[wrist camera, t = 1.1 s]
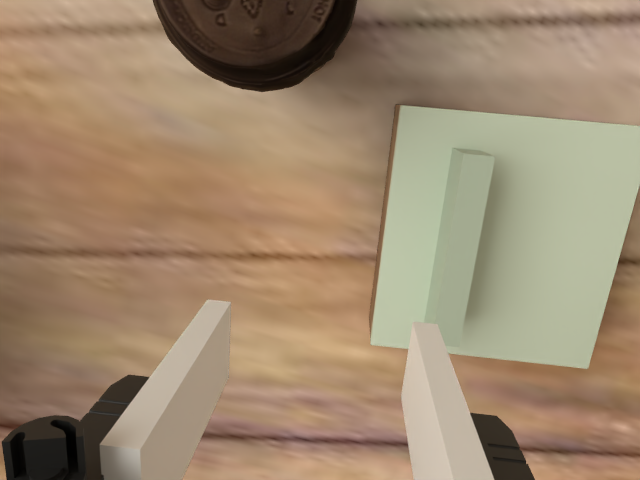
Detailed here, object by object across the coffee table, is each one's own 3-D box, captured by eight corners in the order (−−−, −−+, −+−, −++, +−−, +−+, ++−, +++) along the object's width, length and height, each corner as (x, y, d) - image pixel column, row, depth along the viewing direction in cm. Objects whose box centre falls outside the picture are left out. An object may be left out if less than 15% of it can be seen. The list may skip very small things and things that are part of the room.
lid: (370, 339, 32) (372, 369, 28) (400, 105, 27) (406, 105, 24) (582, 362, 31) (612, 396, 28) (647, 126, 27) (693, 130, 23)
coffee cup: (268, -86, 28) (199, -232, 16) (387, -9, 29) (410, -91, 16) (204, 50, 31) (100, 17, 18) (315, 118, 31) (288, 130, 19)
